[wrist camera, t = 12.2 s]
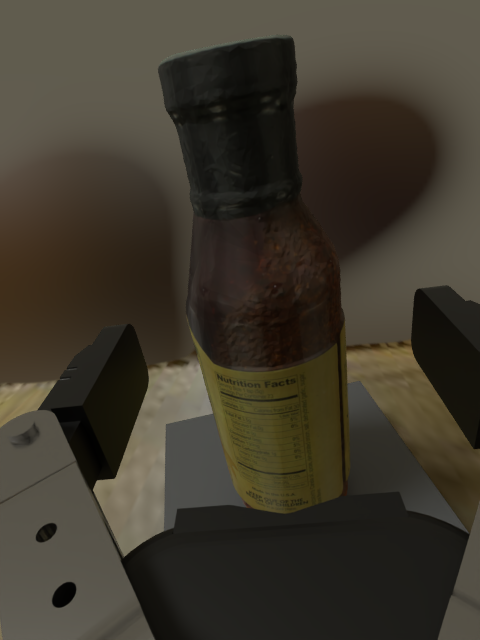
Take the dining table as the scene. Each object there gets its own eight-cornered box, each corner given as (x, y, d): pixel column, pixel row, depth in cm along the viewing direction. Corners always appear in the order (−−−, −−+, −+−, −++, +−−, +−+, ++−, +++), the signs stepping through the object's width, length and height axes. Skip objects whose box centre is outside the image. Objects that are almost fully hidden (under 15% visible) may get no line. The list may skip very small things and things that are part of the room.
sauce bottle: (275, 427, 25) (222, 63, 16) (370, 468, 21) (377, 23, 12) (208, 506, 21) (80, 71, 11) (312, 573, 17) (252, 12, 8)
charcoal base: (360, 422, 30) (359, 381, 28) (492, 636, 18) (508, 588, 16) (178, 464, 29) (165, 424, 27) (184, 721, 17) (161, 681, 15)
